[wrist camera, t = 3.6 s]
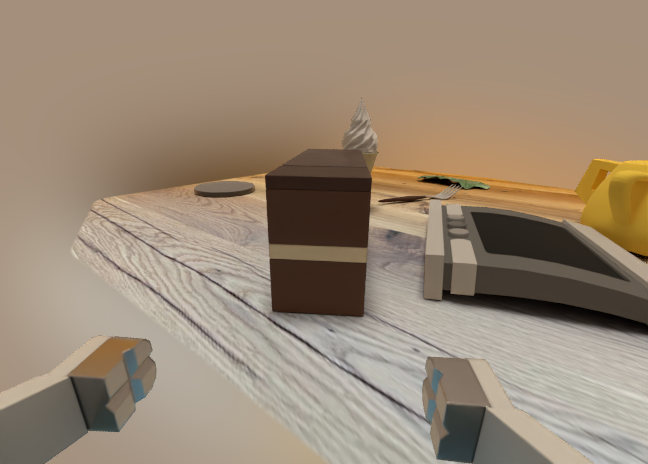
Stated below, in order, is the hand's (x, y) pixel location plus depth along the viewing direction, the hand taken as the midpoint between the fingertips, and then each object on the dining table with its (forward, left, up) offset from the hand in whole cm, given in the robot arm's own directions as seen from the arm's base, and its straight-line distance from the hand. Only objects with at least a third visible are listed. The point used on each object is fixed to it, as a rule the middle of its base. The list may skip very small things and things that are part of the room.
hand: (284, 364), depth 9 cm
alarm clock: (+23, +11, -5) cm, 26 cm away
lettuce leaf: (+45, +46, -5) cm, 65 cm away
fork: (+29, +35, -5) cm, 46 cm away
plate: (-1, +51, -5) cm, 51 cm away
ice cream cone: (+17, +33, -5) cm, 37 cm away
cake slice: (+5, +11, -5) cm, 13 cm away
